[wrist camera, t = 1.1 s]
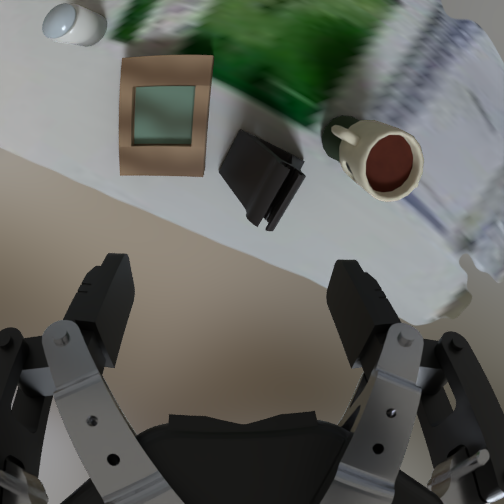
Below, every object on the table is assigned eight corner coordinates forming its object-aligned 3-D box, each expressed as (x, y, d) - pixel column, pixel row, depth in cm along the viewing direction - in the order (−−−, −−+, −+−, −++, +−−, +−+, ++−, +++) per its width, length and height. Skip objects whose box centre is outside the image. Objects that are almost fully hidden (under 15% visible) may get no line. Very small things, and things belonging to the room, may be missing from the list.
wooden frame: (130, 60, 26) (122, 58, 24) (214, 58, 28) (212, 55, 25) (127, 167, 34) (120, 175, 31) (204, 169, 35) (203, 176, 32)
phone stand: (303, 160, 35) (336, 194, 25) (280, 199, 38) (302, 246, 28) (240, 128, 33) (247, 148, 22) (218, 171, 35) (216, 209, 25)
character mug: (294, 141, 34) (328, 171, 23) (321, 93, 31) (370, 101, 20) (360, 179, 37) (410, 222, 26) (386, 137, 34) (445, 166, 23)
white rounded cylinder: (77, 18, 21) (43, 7, 14) (109, 11, 22) (80, -4, 15) (73, 49, 24) (37, 45, 17) (105, 43, 24) (73, 35, 17)
